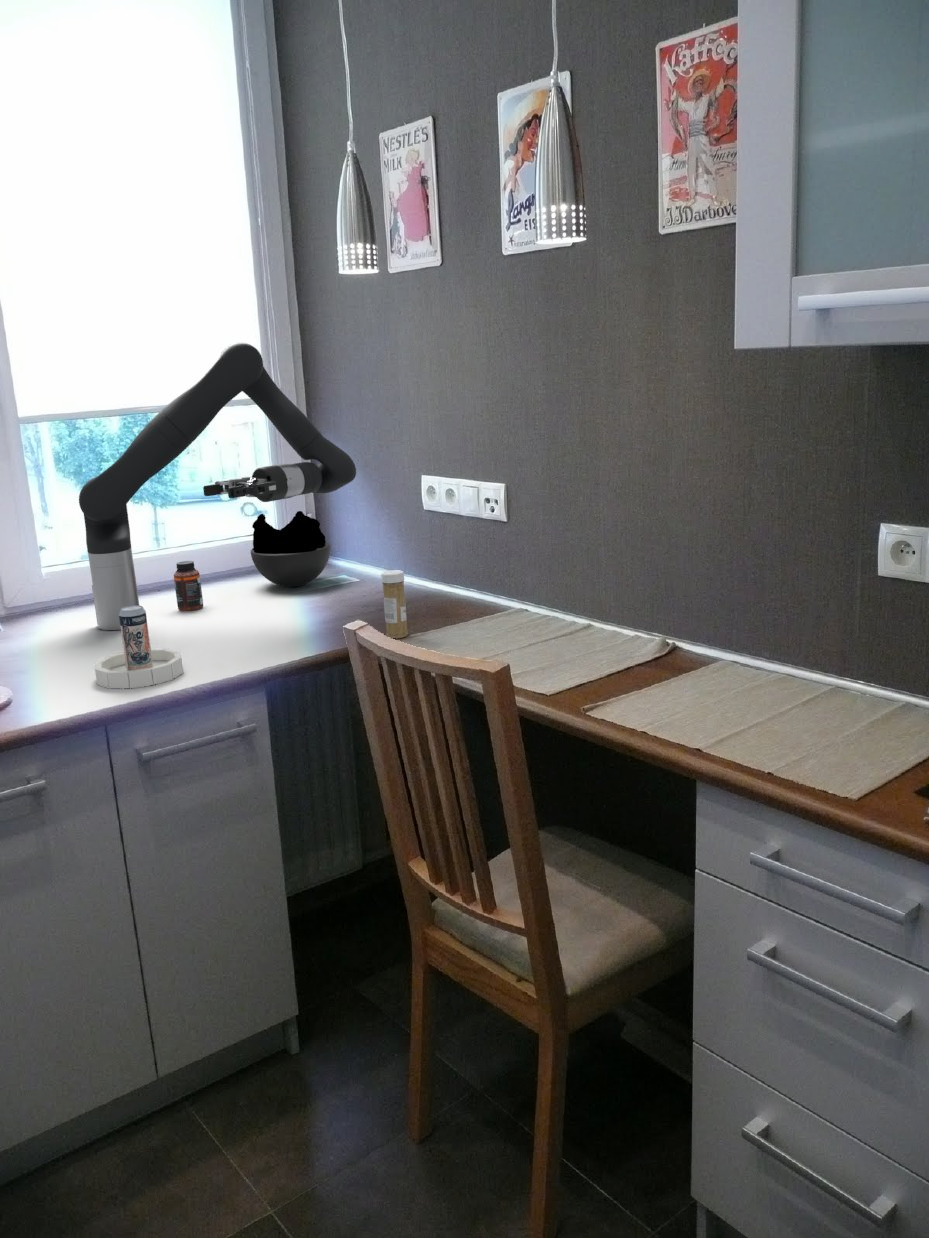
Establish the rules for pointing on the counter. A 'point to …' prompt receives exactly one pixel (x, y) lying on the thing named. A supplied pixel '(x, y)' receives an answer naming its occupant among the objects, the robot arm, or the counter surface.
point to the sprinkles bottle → (394, 603)
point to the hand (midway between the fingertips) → (216, 492)
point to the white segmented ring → (117, 676)
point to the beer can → (135, 638)
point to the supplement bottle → (188, 587)
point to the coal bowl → (290, 550)
